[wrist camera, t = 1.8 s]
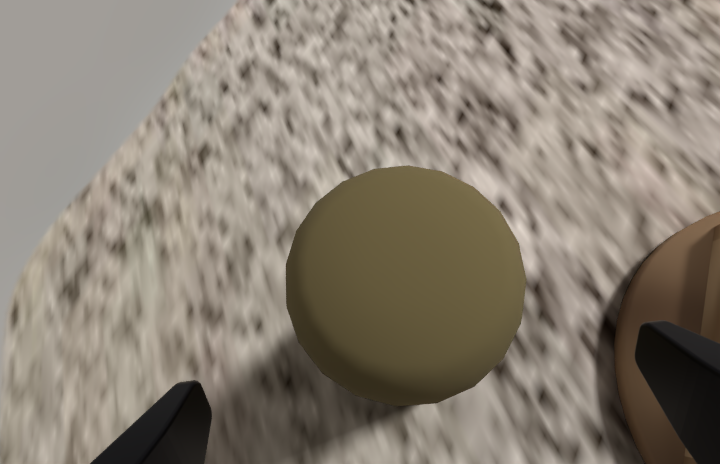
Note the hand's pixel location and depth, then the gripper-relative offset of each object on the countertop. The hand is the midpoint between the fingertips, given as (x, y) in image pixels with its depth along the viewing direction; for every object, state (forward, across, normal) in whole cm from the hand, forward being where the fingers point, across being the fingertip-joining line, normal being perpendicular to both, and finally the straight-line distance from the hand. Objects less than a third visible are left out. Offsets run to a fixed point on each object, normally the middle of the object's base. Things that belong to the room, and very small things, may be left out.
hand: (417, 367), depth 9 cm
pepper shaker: (+8, 0, +6) cm, 10 cm away
